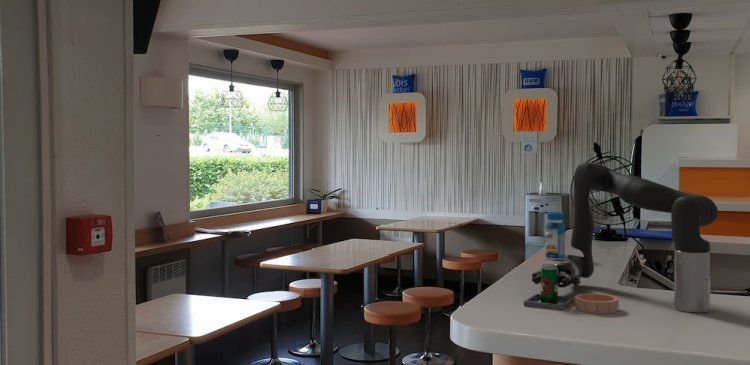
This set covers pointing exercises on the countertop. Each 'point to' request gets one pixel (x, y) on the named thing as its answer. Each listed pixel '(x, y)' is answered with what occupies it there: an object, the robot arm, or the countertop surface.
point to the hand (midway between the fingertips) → (549, 282)
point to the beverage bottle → (555, 236)
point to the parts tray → (567, 303)
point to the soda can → (549, 283)
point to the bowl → (596, 303)
